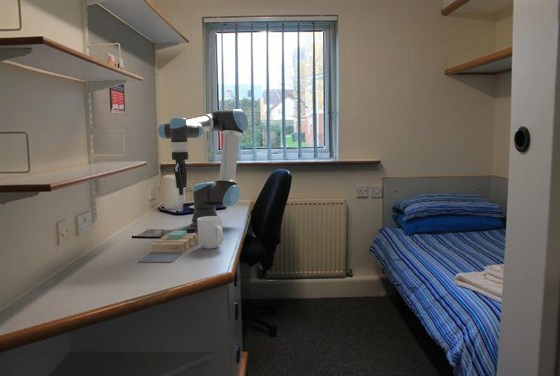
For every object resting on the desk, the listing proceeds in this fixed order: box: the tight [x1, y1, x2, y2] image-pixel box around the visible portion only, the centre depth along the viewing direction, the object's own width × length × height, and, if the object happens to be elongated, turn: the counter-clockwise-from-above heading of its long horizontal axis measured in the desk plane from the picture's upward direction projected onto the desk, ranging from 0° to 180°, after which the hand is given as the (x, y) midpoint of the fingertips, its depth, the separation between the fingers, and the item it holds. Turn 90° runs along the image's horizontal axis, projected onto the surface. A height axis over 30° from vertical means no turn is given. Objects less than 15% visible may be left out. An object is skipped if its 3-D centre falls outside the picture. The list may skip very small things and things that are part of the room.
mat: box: [137, 251, 184, 264], centre depth 189 cm, size 14×14×1 cm
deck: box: [150, 233, 198, 254], centre depth 205 cm, size 20×14×4 cm
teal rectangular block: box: [167, 230, 188, 239], centre depth 208 cm, size 9×6×2 cm, turn 173°
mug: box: [196, 215, 224, 250], centre depth 202 cm, size 15×11×13 cm
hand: (182, 201), depth 216 cm, fingers closed
